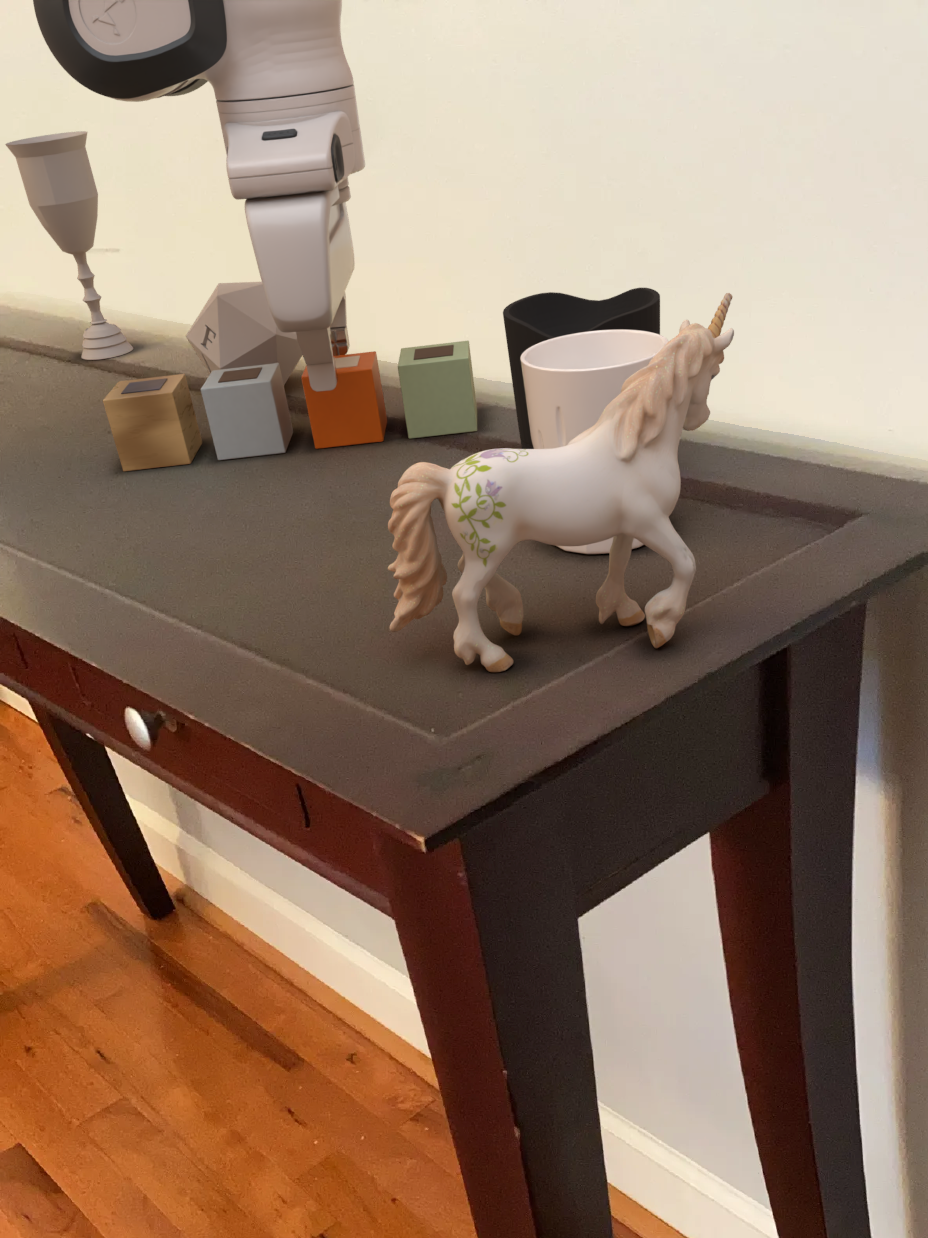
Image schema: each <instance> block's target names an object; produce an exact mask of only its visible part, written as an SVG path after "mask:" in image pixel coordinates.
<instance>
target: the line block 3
mask: <svg viewBox="0 0 928 1238" xmlns="http://www.w3.org/2000/svg"><path fill="white" fill-rule="evenodd" d="M472 362H473V361H472V355H471V346H470V341H469V340H461V341H453V342H451V341H450V342H444V343H443V342H442V343H436V344H427V345H418V346H410V347H402V348H400V353H399V357H398V362H397V371H398V377H399V378H398V379H399V384H400V391H401V398H402V404H403V410H404V419H405V424H406V431H407V437H408V439H410V440H411V439H419V438H420V439H421V438H429V437H437V436H444V435H445V436H446V435H447V436H448V435H454V434H455V435H456V434H463V433H471V432H478V406H477V396H476V388H475V380H474V372H473V364H472Z"/></svg>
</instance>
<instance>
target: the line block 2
mask: <svg viewBox="0 0 928 1238" xmlns="http://www.w3.org/2000/svg"><path fill="white" fill-rule="evenodd" d="M200 393H201V397H202V402H203V405H204V406H203V407H204V409H205V413H206V417H207V421H208V426H209V429H210V435H211V437H212V442H213V446H214V450H215V455H216V458H217V461H225V460H237V459H245V458H253V457H262V456H270V455H279V454H285V453H286V452H287V449H288V447H289V444H290V441H291V439H292V437H293V434H294V429H293V424H292V418H291V414H290V409H289V404H288V400H287V395H286V391H285V385H283V380H282V375H281V370H280V365H279V363H273V364H264V365H256V366H247V367H239V368H230V369H222V370H213V371H212V372H211V374H209V375H208V377H207V378H206V380H205V382H204V383H203V385H202V386H201V387H200Z"/></svg>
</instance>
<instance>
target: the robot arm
mask: <svg viewBox="0 0 928 1238" xmlns="http://www.w3.org/2000/svg"><path fill="white" fill-rule="evenodd" d="M32 2H33V8H34V14H35V18H36V21H37V25H38V28H39V30H40V32H41V35H42V38H43V40H44V42H45V44H46V45H47V48H48V49H49V51H50V53H51V54H52V56H53V57H54V58H55V60H56V61H57V63H58V64H59V65H60V66H61V68H63V70H64V71H65V72H66V73H67V74H68V76H70V77H71V78H72V79H74V80H75V82H77V83H79V85H81V86H83V87H85V88H86V89H88V90H90V91H91V92H93V93H95V94H98V95H100V96H104V97H107V98H110V99H113V100H116V101H121V102H130V103H132V102H133V103H139V102H147V101H150V100H153V99H160V98H163V97H178V96H182V95H187V94H190V93H192V92H195V91H196V90H198V89H200V88H202V87H203V86H204V85H205V84H207V83H209V84H210V85H211V86H212V89H213V92H214V97H215V103H216V107H217V113H218V119H219V124H220V128H221V134H222V138H223V144H224V149H225V154H226V165H225V166H226V167H225V168H226V174H227V179H228V184H229V189H230V193H231V196H232V198H233V199H235V200H237V201H238V200H244V215H245V219H246V225H247V228H248V233H249V237H250V241H251V245H252V249H253V252H254V253H253V254H254V257H255V261H256V265H257V269H258V273H259V277H260V280H261V282H262V284H263V288H264V291H265V295H266V299H267V302H268V306H269V309H270V311H271V314H272V317H273V319H274V321H275V323H276V325H277V327H278V329H279V330H280V331H281V332H296V335H297V341H298V344H299V347H300V349H301V352H302V358H303V360H304V363H305V366H306V365H307V370H308V376H309V381H310V386H311V388H312V389H313V390H314V391H316V392H319V391H330V390H333V389H334V388H335V387H336V384H337V381H338V374H337V369H336V362H335V357H333V356H339V355H347V353H348V352H349V349H350V346H351V345H350V338H349V337H350V336H349V330H348V323H347V322H348V319H347V318H348V317H347V296H346V290H347V288H348V285H349V282H350V280H351V278H352V275H353V273H354V270H355V264H356V263H355V250H354V243H353V238H352V232H351V224H350V220H349V213H348V208H347V207H348V206H347V203H346V202H349V201H350V200H351V197H352V196H351V189H350V186H349V185H350V183H349V176H351V175H352V174H355V173H359V172H360V171H362V170H364V169H365V167H366V160H365V152H364V145H363V138H362V131H361V123H360V119H359V118H360V117H359V111H358V103H357V96H356V95H357V94H356V90H355V89H356V88H355V84H354V82H355V81H354V77H353V73H352V70H351V68H350V65H349V63H348V61H347V60H348V59H347V57H346V54H345V52H344V46H343V41H342V31H341V20H342V18H341V17H342V12H343V11H342V9H343V0H32Z"/></svg>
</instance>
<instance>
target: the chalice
mask: <svg viewBox="0 0 928 1238" xmlns="http://www.w3.org/2000/svg"><path fill="white" fill-rule="evenodd" d="M87 138H88V131H85V130H84V131H83V130H82V131H81V130H79V131H67V132H59V133H52V134H51V133H50V134H44V135H38V136H31V137H27V138H22V139H17V140H13V141H9V142H7V143H5V144H4V145H5V146H6V147H7V149H8V150H9V151H10V152H11V154H12V155H13V156H14V157H15V160H16V164H17V167H18V171H19V173H20V177H21V181H22V184H23V188H24V190H25V194H26V198H27V201H28V204H29V206H30V208H31V210H32V212H33V213H34V215H35V216H36V219H37V220H38V221H39V223H40V224H41V226H42V227H43V228H44V230H45V231H46V232H47V234H48V235H49V237H51V239H52V241H54V243H55V244H56V246H58V248H59V249H60V250H61V252H62V253H66V254H69V255H72V256H73V258H74V261H75V262H76V265H77V280H78V282H80V283H81V285H82V287H83V291H84V295H83V298H82V301H83V302H84V303H85V304H86V305H87V307H88V309H89V311H90V316H91V321H90V322H89V324H91V325H90V326H89V327H87V328H85V329H84V331H83V335H82V338H83V340H82V344H81V348H82V352H81V357H80V358H81V359H83V360H86V361H92V360H93V361H95V360H104V359H111V358H115V357H119V356H123V355H126V354H128V353H131V352H132V351H133V350H134V347H133V346H132V345H131V343H130V342H129V341H128V340H127V336H126V335H125V334H124V333H123V332H122V329H121V328H120V327H119V326H118V325H116V324H115V323H109V322H107V321H108V319H106V318H105V317H104V314H103V313H102V311H101V303H100V301H101V299H102V296H101V295H100V294H99V293H98V292H97V290H96V288H95V284H94V279H95V277H96V275H95V274H94V273H93V271H92V270H91V268H90V266H89V264H88V260H87V252H89V251H90V250H91V249H92V248H93V247H94V246H95V245H94V244H95V237H96V229H97V223H98V215H99V214H98V213H99V212H98V211H99V210H98V209H99V192H98V188H97V185H96V181H95V178H94V177H95V176H94V174H93V170H92V167H91V166H92V165H91V163H90V159H89V154H88V152H87V147H86V145H87Z"/></svg>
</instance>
